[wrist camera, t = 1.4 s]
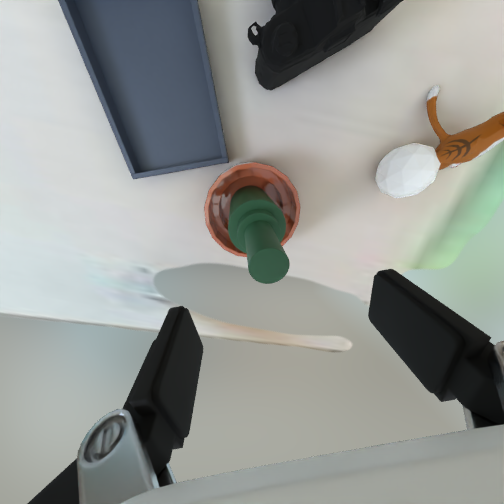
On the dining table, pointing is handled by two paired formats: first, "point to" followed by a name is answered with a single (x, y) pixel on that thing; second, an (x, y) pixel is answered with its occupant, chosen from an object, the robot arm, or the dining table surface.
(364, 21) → the film camera
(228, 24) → the dining table surface
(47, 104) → the dining table surface
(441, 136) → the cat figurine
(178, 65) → the tray
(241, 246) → the bottle
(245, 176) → the bowl
